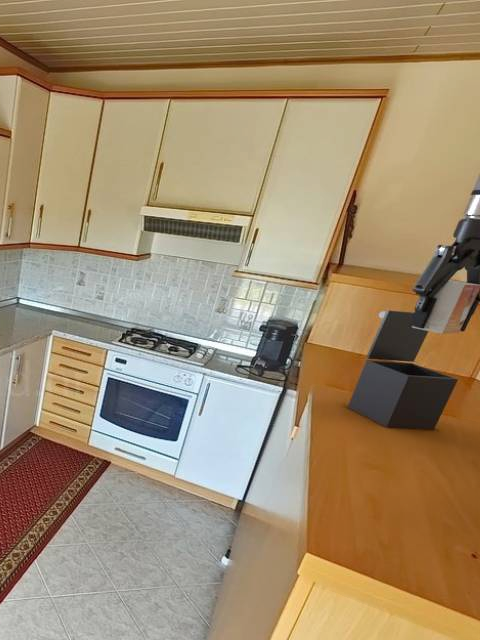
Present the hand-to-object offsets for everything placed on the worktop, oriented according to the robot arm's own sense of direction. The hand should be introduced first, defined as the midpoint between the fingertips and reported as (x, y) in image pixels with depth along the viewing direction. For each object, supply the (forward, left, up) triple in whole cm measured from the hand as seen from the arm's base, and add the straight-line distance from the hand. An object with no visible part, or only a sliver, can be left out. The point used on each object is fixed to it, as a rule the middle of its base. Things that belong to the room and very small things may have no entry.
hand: (436, 328), depth 105 cm
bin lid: (+10, -4, -5) cm, 12 cm away
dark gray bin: (+5, -4, -24) cm, 25 cm away
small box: (0, 0, -1) cm, 1 cm away
